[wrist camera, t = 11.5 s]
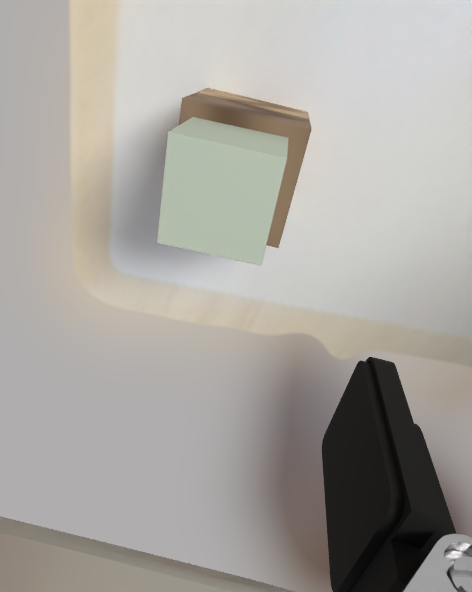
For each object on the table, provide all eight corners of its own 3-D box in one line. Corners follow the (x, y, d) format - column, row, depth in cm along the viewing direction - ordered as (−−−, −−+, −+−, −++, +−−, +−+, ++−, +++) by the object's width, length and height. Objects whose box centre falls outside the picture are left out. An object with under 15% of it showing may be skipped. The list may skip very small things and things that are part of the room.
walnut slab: (309, 119, 30) (311, 128, 26) (279, 225, 34) (278, 248, 30) (196, 92, 30) (182, 98, 26) (181, 202, 34) (166, 221, 30)
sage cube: (288, 137, 26) (287, 158, 21) (266, 228, 29) (261, 265, 24) (192, 117, 26) (167, 132, 21) (181, 209, 29) (157, 242, 24)
